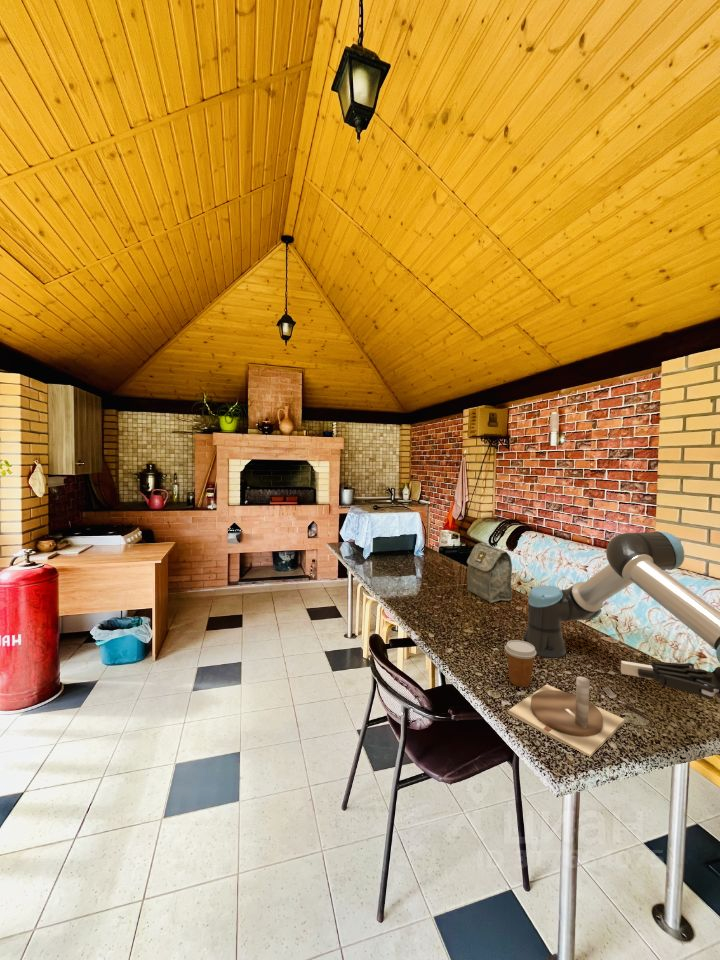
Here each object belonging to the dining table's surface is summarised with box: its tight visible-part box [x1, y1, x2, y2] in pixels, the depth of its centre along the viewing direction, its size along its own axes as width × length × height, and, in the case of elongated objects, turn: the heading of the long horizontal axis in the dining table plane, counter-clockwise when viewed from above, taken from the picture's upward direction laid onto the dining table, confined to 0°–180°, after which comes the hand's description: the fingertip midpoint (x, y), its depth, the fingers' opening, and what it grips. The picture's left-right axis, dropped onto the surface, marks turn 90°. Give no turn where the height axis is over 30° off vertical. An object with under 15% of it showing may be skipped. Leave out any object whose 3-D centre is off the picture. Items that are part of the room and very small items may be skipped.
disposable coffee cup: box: [504, 639, 537, 688], centre depth 131 cm, size 10×10×12 cm
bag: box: [466, 541, 513, 604], centre depth 214 cm, size 22×16×27 cm
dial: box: [531, 676, 603, 736], centre depth 113 cm, size 18×18×14 cm
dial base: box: [507, 683, 626, 758], centre depth 113 cm, size 22×22×1 cm
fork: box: [602, 687, 655, 724], centre depth 118 cm, size 3×16×2 cm, turn 16°
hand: (621, 667), depth 102 cm, fingers closed
